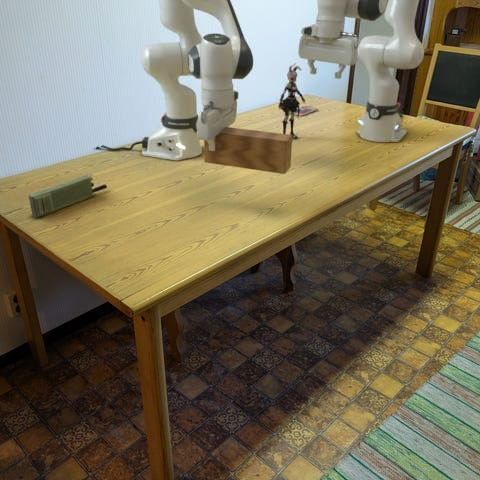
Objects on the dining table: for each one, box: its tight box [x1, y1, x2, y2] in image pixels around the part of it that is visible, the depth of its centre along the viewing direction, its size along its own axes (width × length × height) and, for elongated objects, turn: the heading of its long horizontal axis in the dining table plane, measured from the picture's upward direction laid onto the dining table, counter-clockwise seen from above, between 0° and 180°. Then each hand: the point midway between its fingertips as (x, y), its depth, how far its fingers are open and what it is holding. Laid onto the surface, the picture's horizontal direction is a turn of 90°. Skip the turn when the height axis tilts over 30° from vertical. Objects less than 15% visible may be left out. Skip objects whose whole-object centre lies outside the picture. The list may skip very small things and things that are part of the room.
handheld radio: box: [28, 173, 108, 219], centre depth 150 cm, size 7×3×25 cm
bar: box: [203, 126, 293, 175], centre depth 143 cm, size 24×6×10 cm, turn 69°
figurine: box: [278, 62, 306, 140], centre depth 199 cm, size 15×6×30 cm, turn 132°
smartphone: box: [290, 105, 318, 117], centre depth 242 cm, size 7×1×15 cm
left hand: (217, 146), depth 146 cm, fingers closed on bar, 5 cm apart
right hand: (325, 76), depth 165 cm, fingers open, 8 cm apart
